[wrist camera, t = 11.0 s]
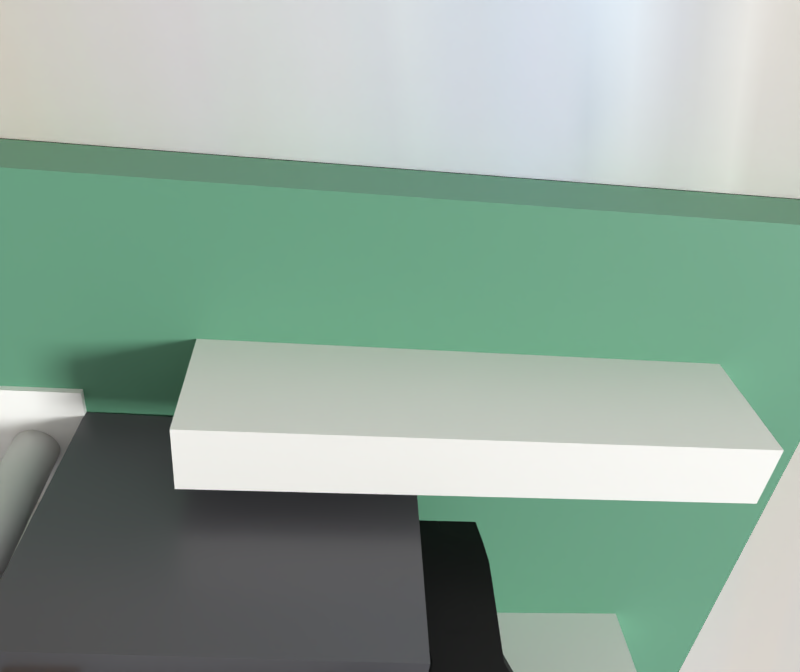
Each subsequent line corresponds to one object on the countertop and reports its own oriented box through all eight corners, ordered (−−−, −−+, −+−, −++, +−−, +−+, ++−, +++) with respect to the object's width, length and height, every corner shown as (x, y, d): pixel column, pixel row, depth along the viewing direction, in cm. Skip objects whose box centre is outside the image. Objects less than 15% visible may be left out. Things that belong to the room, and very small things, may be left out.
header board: (645, 667, 18) (726, 885, 14) (38, 668, 16) (-54, 914, 12) (866, 204, 11) (1132, 380, 7) (-110, 130, 10) (-399, 304, 6)
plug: (387, 594, 14) (394, 839, 10) (113, 584, 13) (24, 836, 10) (412, 430, 12) (430, 672, 8) (85, 411, 11) (-40, 658, 8)
